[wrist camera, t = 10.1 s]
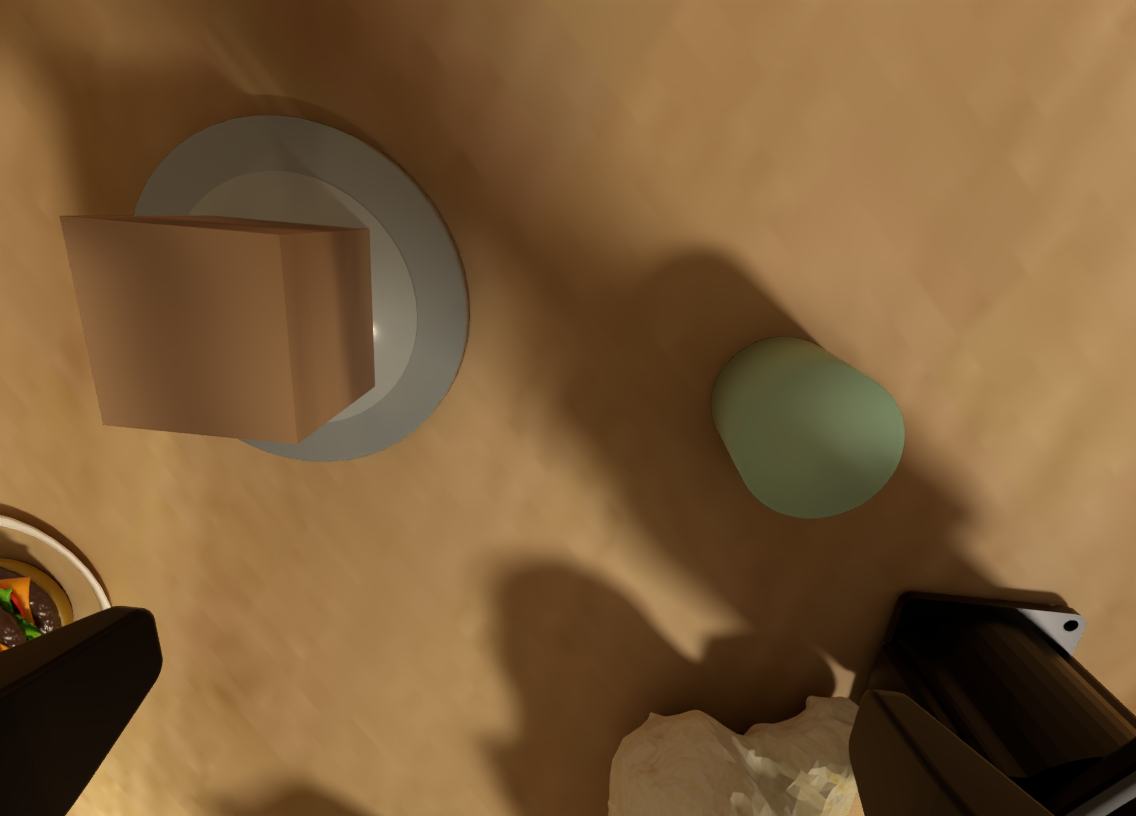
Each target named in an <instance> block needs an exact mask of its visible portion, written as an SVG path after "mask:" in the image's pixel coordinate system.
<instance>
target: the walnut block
mask: <svg viewBox="0 0 1136 816" xmlns="http://www.w3.org/2000/svg"><path fill="white" fill-rule="evenodd" d="M60 220H61V225H62V230H63V234H64V239H65V244H66V249H67V254H68V258H69V263H70V268H71V273H72V278H73V282H74V287H75V292H76V297H77V302H78V306H79V311H80V316H81V321H82V326H83V330H84V335H85V340H86V345H87V350H88V354H89V359H90V364H91V369H92V374H93V378H94V383H95V388H96V393H97V398H98V402H99V407H100V412H101V417H102V422H103V425H108V426H118V427H128V428H138V429H148V430H158V431H169V432H179V433H189V434H199V435H209V436H219V437H229V438H239V439H249V440H259V441H269V442H279V443H289V444H299V443H300V442H301V441H303V440H304V439H305V438H307V437H308V436H309V435H311V434H312V433H313V432H315V431H316V430H317V429H319V428H320V427H321V426H323V425H324V424H325V423H327V422H328V421H329V420H331V419H332V418H333V417H335V416H336V415H338V414H339V413H340V412H342V411H343V410H344V409H346V408H347V407H348V406H350V405H351V404H352V403H354V402H355V401H356V400H358V399H359V398H360V397H362V396H363V395H364V394H366V393H367V392H368V391H370V390H371V389H372V388H374V387H375V367H374V340H373V312H372V284H371V257H370V229H361V228H349V227H337V226H326V225H314V224H303V223H291V222H279V221H268V220H256V219H244V218H233V217H221V216H209V215H200V216H60Z"/></svg>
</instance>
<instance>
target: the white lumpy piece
mask: <svg viewBox="0 0 1136 816" xmlns="http://www.w3.org/2000/svg"><path fill="white" fill-rule="evenodd" d="M858 708H859V706H858V705H857V704H855V703H854V702H853V701H851V700H850V699H849V698H845V697H833V698H826V697H816V696H812V695H811V696H809V697H808V698H807V700H806V709H805V710H804V711H803V712H801V713H800V714H799V715H797V716H796V717H793V718H791V719H788V720H785V721H782V722H778V723H774V724H771V723H760V724H754V725H753V726H752V727H751V728H750V729H749V730H748V731H747V732H746V733H745V734H744V735H740V734H736V733H735V732H733V731H731V730H730V729H728V728H727V727H725V726H723V725H722V724H721V723H719V722H718V721H717V720H715V719H714V718H713V717H711V716H709V715H707V714H706V713H704V712H702V711H699V710H692V711H688V712H685V713H681V714H677V715H672V716H661V715H659V714H656V713H650V714H649V717H648V720H647V721H646V722H644V723H643V724H642V725H641V726H640V727H639V728H638V729H636V730H634V731H633V732H631V733H630V734H629V735H627V736H625V737H624V738H623V739H622V741H621V743H620V746H619V748H618V750H617V752H616V754H615V756H614V758H613V760H612V765H611V772H610V784H609V800H608V808H609V812H608V815H607V816H847V814H848V811H849V809H850V807H851V805H852V802H853V800H854V797H855V795H856V792H857V790H858V789H857V785H856V781H855V778H854V774H853V770H852V766H851V763H850V758H849V738H850V734H851V731H852V728H853V724H854V721H855V718H856V715H857V711H858Z"/></svg>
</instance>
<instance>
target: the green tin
mask: <svg viewBox="0 0 1136 816" xmlns="http://www.w3.org/2000/svg"><path fill="white" fill-rule="evenodd" d="M711 412H712V418H713V421H714V424H715V427H716V429H717V431H718V433H719V434H720V436H721V438H722V440H723V442H724V444H725V446H726V448H727V450H728V452H729V454H730V456H731V458H732V460H733V462H734V464H735V466H736V468H737V469H738V471H739V473H740V475H741V477H742V479H743V481H744V483H745V485H746V486H747V488H748V489H749V491H750V492H751V493H752V494H753V495H754V496H755V497H756V498H757V499H758V500H759V501H760V502H761V503H763V504H764V505H765V506H767V507H769V508H771V509H772V510H774V511H777V512H779V513H781V514H784V515H788V516H791V517H797V518H809V519H815V518H825V517H831V516H835V515H838V514H842V513H845V512H847V511H850V510H852V509H854V508H856V507H858V506H860V505H862V504H863V503H865V502H866V501H868V500H869V499H870V498H872V497H873V496H874V495H875V494H876V493H878V492H879V491H880V490H881V489H882V488H883V487H884V485H885V484H886V483H887V482H888V481H889V479H890V478H891V476H892V475H893V474H894V472H895V470H896V468H897V466H898V464H899V461H900V459H901V456H902V452H903V448H904V440H905V430H904V422H903V418H902V414H901V412H900V410H899V407H898V405H897V404H896V402H895V400H894V399H893V397H892V396H891V395H890V394H889V392H888V391H887V390H886V389H885V388H883V387H882V386H881V385H880V384H879V383H877V382H876V381H874V380H873V379H871V378H869V377H868V376H866V375H865V374H863V373H861V372H860V371H858V370H856V369H855V368H853V367H852V366H850V365H848V364H847V363H845V362H844V361H842V360H840V359H839V358H837V357H836V356H834V355H832V354H831V353H829V352H827V351H826V350H824V349H823V348H821V347H819V346H818V345H816V344H814V343H812V342H810V341H807V340H804V339H800V338H795V337H774V338H769V339H764V340H761V341H759V342H756V343H753V344H751V345H750V346H748V347H746V348H744V349H743V350H741V351H740V352H738V353H737V354H736V355H735V356H734V357H732V358H731V359H730V361H729V362H728V363H727V364H726V365H725V366H724V368H723V369H722V371H721V372H720V374H719V376H718V378H717V380H716V382H715V385H714V388H713V392H712V397H711Z"/></svg>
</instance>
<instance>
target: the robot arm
mask: <svg viewBox="0 0 1136 816" xmlns="http://www.w3.org/2000/svg"><path fill="white" fill-rule="evenodd" d="M914 604H917V605H916V606H915V607H913V608H910V607H911V606H912V605H914ZM1067 621H1068V622H1067ZM1085 626H1086V621H1085V619H1084V618H1083V617H1082V616H1081V615H1080V614H1078V613H1077V612H1076V611H1075V610H1074V609H1073V608H1069V607H1062V606H1052V605H1043V604H1033V603H1023V602H1013V601H1003V600H993V599H983V598H973V597H963V596H953V595H944V594H934V593H924V592H907V593H904V594H903V595H901V596H900V597H899V598H898V600H897V602H896V605H895V608H894V611H893V615H892V618H891V621H890V624H889V627H888V630H887V633H886V636H885V639H884V642H883V644H882V645H881V646H880V648H879V652H878V655H877V658H876V661H875V664H874V667H873V670H872V673H871V676H870V680H869V683H868V686H867V689H866V692H865V693H864V694H863V696H862V699H861V702H860V705H859V708H858V711H857V715H856V718H855V721H854V724H853V728H852V731H851V734H850V738H849V758H850V763H851V766H852V770H853V774H854V778H855V781H856V785H857V789H858V792H859V796H860V800H861V804H862V807H863V811H864V815H865V816H1136V716H1135V715H1134V714H1133V713H1132V712H1131V711H1129V710H1128V709H1127V708H1126V707H1125V706H1124V705H1123V704H1122V703H1121V702H1120V701H1119V700H1118V699H1117V698H1116V697H1115V696H1114V695H1113V694H1112V693H1111V692H1109V691H1108V690H1107V689H1106V688H1105V687H1104V686H1103V685H1102V684H1101V683H1100V682H1099V681H1098V680H1097V679H1096V678H1095V677H1094V676H1093V675H1092V674H1090V673H1089V672H1088V671H1087V670H1086V669H1085V668H1084V667H1083V666H1082V665H1081V664H1080V663H1079V662H1078V661H1077V660H1076V659H1075V658H1074V657H1073V656H1072V654H1073V652H1074V650H1075V648H1076V646H1077V644H1078V642H1079V639H1080V637H1081V635H1082V633H1083V631H1084V629H1085ZM162 662H163V658H162V652H161V647H160V642H159V637H158V632H157V628H156V623H155V618H154V615H153V614H152V613H151V612H150V611H149V610H147V609H145V608H137V607H128V606H114V607H110V608H107V609H105V610H102V611H100V612H97V613H95V614H92V615H90V616H87V617H85V618H82V619H80V620H78V621H75V622H73V623H70V624H68V625H65V626H63V627H60V628H58V629H55V630H53V631H50V632H48V633H45V634H43V635H40V636H38V637H35V638H33V639H30V640H28V641H25V642H23V643H21V644H18V645H16V646H13V647H11V648H8V649H6V650H3V651H1V652H0V816H65V815H66V814H67V813H68V811H69V810H70V809H71V807H72V806H73V805H74V803H75V802H76V800H77V799H78V797H79V796H80V794H81V793H82V792H83V790H84V789H85V787H86V786H87V784H88V783H89V781H90V780H91V778H92V777H93V775H94V774H95V772H96V771H97V769H98V768H99V766H100V765H101V763H102V762H103V760H104V759H105V757H106V756H107V754H108V753H109V751H110V750H111V748H112V747H113V745H114V744H115V742H116V741H117V739H118V738H119V736H120V735H121V733H122V732H123V730H124V729H125V727H126V726H127V724H128V723H129V721H130V720H131V718H132V717H133V715H134V714H135V712H136V711H137V709H138V708H139V706H140V705H141V703H142V702H143V700H144V699H145V697H146V696H147V694H148V693H149V691H150V689H151V688H152V686H153V685H154V683H155V682H156V680H157V678H158V676H159V674H160V672H161V668H162Z"/></svg>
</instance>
